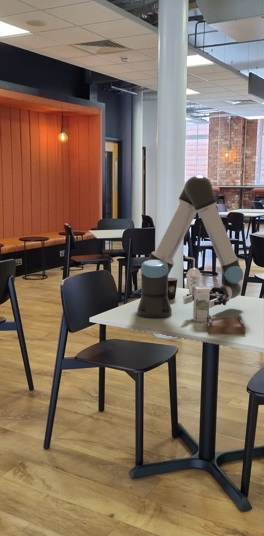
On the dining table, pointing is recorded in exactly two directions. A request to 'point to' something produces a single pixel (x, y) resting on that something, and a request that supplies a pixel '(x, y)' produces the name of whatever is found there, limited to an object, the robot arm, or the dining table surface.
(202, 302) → the syrup box
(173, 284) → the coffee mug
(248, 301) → the dining table surface
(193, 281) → the cup with straw
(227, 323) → the walnut serving tray
